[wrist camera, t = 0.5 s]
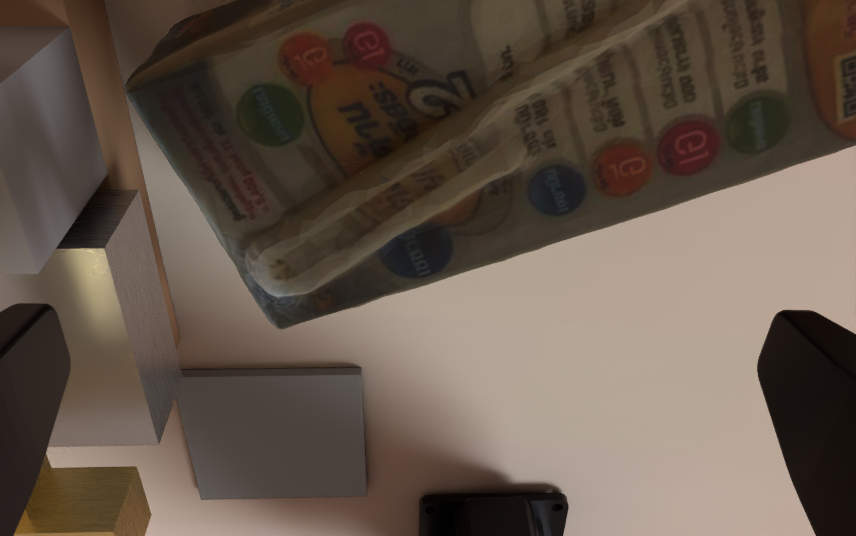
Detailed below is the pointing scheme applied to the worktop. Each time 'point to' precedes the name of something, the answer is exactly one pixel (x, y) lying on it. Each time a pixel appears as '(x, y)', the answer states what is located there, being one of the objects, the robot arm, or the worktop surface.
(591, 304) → the worktop surface
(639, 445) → the worktop surface
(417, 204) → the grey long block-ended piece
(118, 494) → the bar
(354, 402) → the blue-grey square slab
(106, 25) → the plane body
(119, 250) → the grey rectangular box
